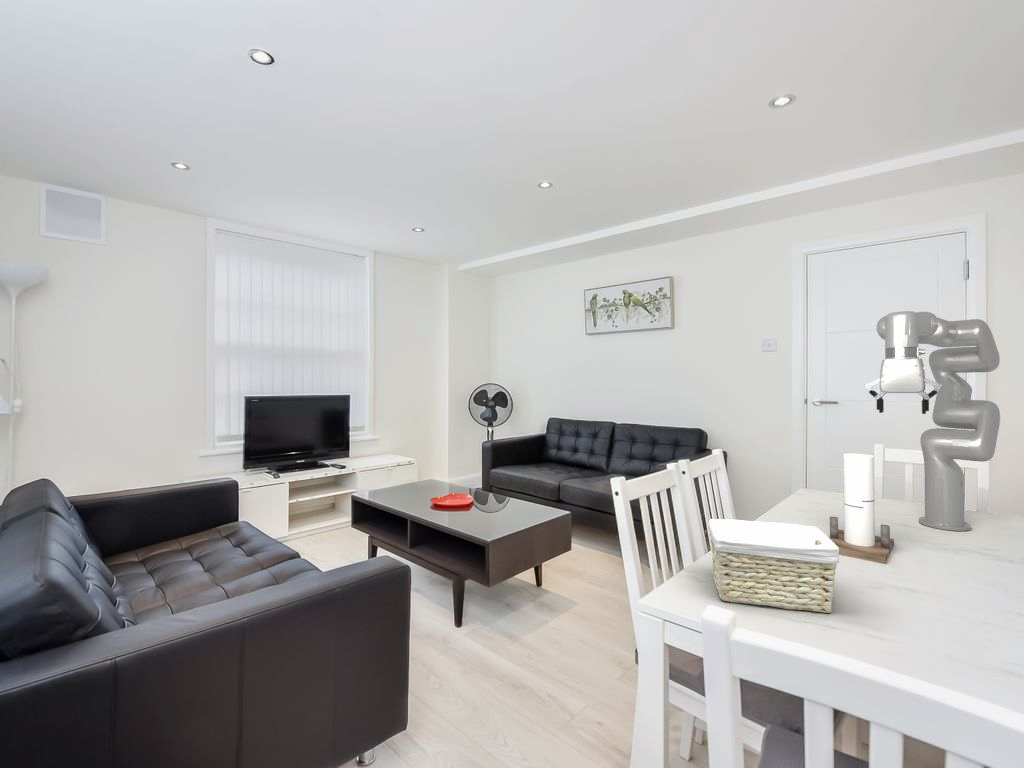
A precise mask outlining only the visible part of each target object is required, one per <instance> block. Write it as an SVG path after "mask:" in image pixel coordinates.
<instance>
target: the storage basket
mask: <svg viewBox="0 0 1024 768" xmlns="http://www.w3.org/2000/svg"><path fill="white" fill-rule="evenodd" d="M708 531H709V535H710V543H711V553H712V554H711V556H712V574H713V576H712V577H713V581H714V584H715V586H716V591H717V590H718V591H717V592H718V593H719V594H718V593H717V594H718V595H719V598H720V600H722V601H724V602H729V601H730V603H740V604H746V605H747V604H748V605H749V604H750V605H756V606H768V607H773V608H774V607H776V608H780V609H786V610H798V611H803V610H804V611H809V612H810V611H811V612H817V613H818V612H820V613H828V614H829V613H831V612H832V603H833V602H832V601H833V595H834V585H835V580H836V578H835V575H836V569H837V565H838V564H839V561H840V560H839V559H840V558H839V555H840V554H839V548H838V547H837V546H836V545H835V544H834V543H833V542H832V541H831V540H830V539H829V538H830V537H828V536H827V535H826V534H825V533H824V532H822V531H821V530H820V529H819V528H818V527H816V526H807V525H801V524H792V523H780V522H766V521H753V520H752V521H751V520H741V519H721V518H716V519H713V518H710V519H709V521H708Z"/></svg>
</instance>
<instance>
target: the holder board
mask: <svg viewBox="0 0 1024 768" xmlns="http://www.w3.org/2000/svg"><path fill="white" fill-rule="evenodd" d="M828 538H829V539H830V540H831V541H832V542H833V543H834V544H835V545H836V546H837V547H838V548H839V555H841V556H846V557H849V558H850V557H851V558H855V559H860V560H864V561H870V562H874V563H875V562H876V563H880V564H887V561H888V559H889V557H890V554H891V553H892V550H893V547H894V545H895V539H894V538H891V526H890V525H888V524H880V536H879V535H875V545H874V546H869V547H868V546H858V545H853V544H850V543H847V542H845V541H844V529H840V528H839V517H837V516H829V537H828Z"/></svg>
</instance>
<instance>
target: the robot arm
mask: <svg viewBox="0 0 1024 768" xmlns="http://www.w3.org/2000/svg"><path fill="white" fill-rule="evenodd" d="M876 332H877V334H878V336H879V337H880V338H881V339H882V340H884V348H885V350H884V355H885V356H884V359H882V362H881V365H880V372H879V375H880V376H879V378H877V379H876V380H873V381H871V382H868V383H866V384H865V385H864V387H865V388H866V390H867V391H868V394H869V395H871V396H873V398H874V399H876V410H877V411H879V412H878V413H879V414H882V413H884V409H885V408H884V399H883V397H884V396H885V395H886V394H918V395H919V396H921V398H922V400H921V414H923V415H926V414H927V412H929V411H930V399H931V398H933V397H935V395H936V397H935V401H934V405H933V411H932V421H933V423H934V424H935V426H939V427H938V428H937V427H935V428H929V429H926V430H925V431H923V432H922V433H921V436H920V447H921V448H920V449H921V451H922V456H923V466H924V467H923V469H924V516H921V517H918V522H919V523H920V524H921V525H924V526H927V527H930V528H933V529H937V530H945V531H954V532H968V531H970V530H971V529H972V525H971V524H970V523H968V522H965V473H964V471H963V469H962V468H961V466H960V465H959V464H958V463H957V462H956V461H955V460H958V461H961V460H963V461H970V462H972V461H973V462H980V463H981V462H988V461H990V460H992V459H993V457H994V455H995V451H996V448H997V447H996V446H997V441H998V435H999V430H1000V424H1001V412H1000V408H999V406H998V405H997V404H996V403H995V402H993V401H990V400H984V399H972V393H973V388H972V387H971V385H970V384H969V383H968V381H967V380H965V379H964V378H963V377H962V376H960V375H959V374H958V373H961V374H962V373H967V374H968V373H990V372H993V371H995V370H997V368H998V367H999V366H1000V361H1001V357H1000V352H999V349H998V347H997V344H996V341H995V339H994V335H993V333H992V330H991V329H990V326H989V325H988V324H987V322H985V321H984V320H983V319H980V318H978V319H977V318H976V319H975V318H974V319H973V318H972V319H964V320H963V319H962V320H953V321H952V320H947V319H944V318H940V317H937V316H936V315H935V314H934V313H932V312H929V311H918V312H917V311H913V310H912V311H911V310H909V311H908V310H907V311H906V310H905V311H895V312H890V313H888V314H886V315H885V316H883V317H880V319H879V320H878V321H877V324H876ZM919 345H930V346H934V347H938V348H939V349H935V350H933V351H932V352H930V354H929V356H928V364H929V368H930V370H931V373H932V376H933V378H934V380H931V379H929V378H926V372H925V371H926V370H925V365H924V361H923V358H919V357H920V356H922V355H926V349H921V348H920V347H919ZM926 384H927V385H930V386H932V387H933V389H932V390H931V391H930V392H929V393H927V392H926ZM877 385H879V389H880V391H879V392H877V391H875V390H874V388H873V387H875V386H877ZM940 427H941V428H940Z"/></svg>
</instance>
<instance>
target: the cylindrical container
mask: <svg viewBox="0 0 1024 768" xmlns="http://www.w3.org/2000/svg"><path fill="white" fill-rule="evenodd" d="M842 455H843V458H842V459H843V460H842V461H843V466H842V467H843V528H844V529H843V530H844V541H845V542H847V543H850V544H853V545H858V546H868V547H869V546H874V545H875V536H876V520H875V519H876V516H875V515H876V511H875V509H876V507H875V505H876V503H875V501H876V500H875V499H876V498H875V494H876V493H875V491H876V490H875V456H874V455H873V454H865V453H851V452H850V453H843V454H842Z"/></svg>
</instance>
